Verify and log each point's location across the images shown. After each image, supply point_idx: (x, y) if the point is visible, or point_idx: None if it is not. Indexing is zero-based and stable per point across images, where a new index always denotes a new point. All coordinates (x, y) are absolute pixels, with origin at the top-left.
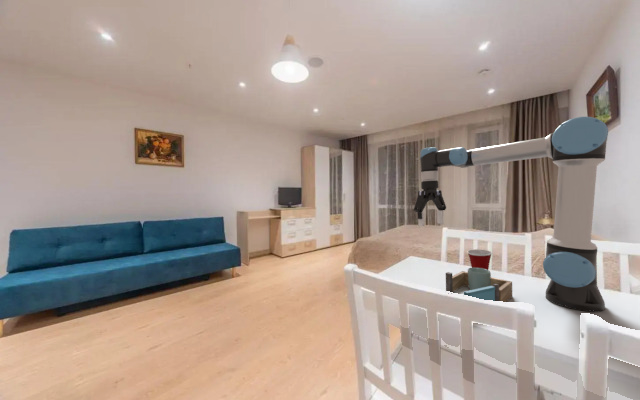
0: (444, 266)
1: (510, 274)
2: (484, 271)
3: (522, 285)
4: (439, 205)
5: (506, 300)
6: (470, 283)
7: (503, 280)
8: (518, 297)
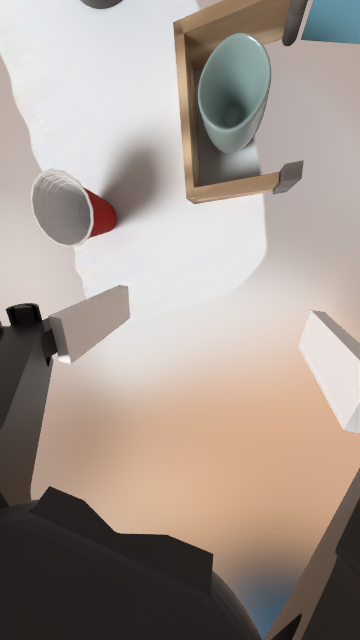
0: None
1: None
2: (205, 87)
3: (91, 103)
4: (31, 360)
5: None
6: (259, 124)
7: (182, 51)
8: None
